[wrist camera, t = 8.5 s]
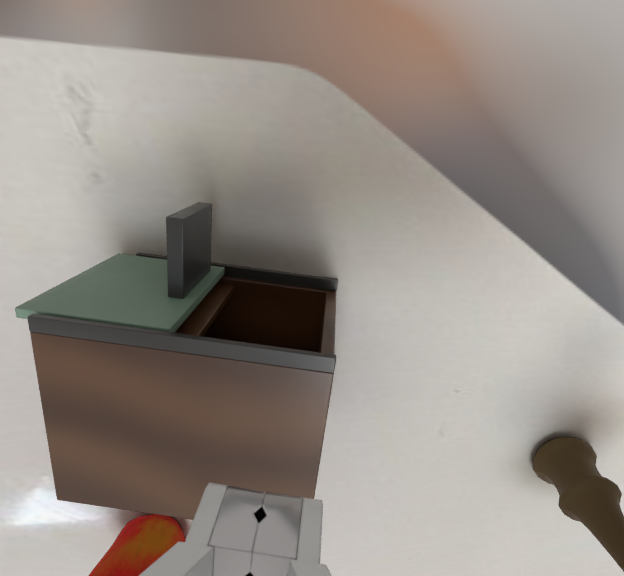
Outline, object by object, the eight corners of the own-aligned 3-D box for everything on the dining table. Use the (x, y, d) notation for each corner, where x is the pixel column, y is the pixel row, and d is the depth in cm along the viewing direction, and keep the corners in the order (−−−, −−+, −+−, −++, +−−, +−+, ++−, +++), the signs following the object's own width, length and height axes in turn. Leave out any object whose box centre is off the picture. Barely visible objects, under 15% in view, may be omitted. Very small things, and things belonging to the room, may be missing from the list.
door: (114, 187, 29) (-3, 214, 19) (227, 202, 29) (167, 236, 19) (119, 260, 31) (15, 317, 21) (224, 274, 31) (169, 338, 21)
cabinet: (138, 252, 32) (26, 316, 20) (338, 278, 31) (336, 358, 20) (144, 387, 36) (56, 500, 25) (318, 412, 36) (308, 537, 25)
